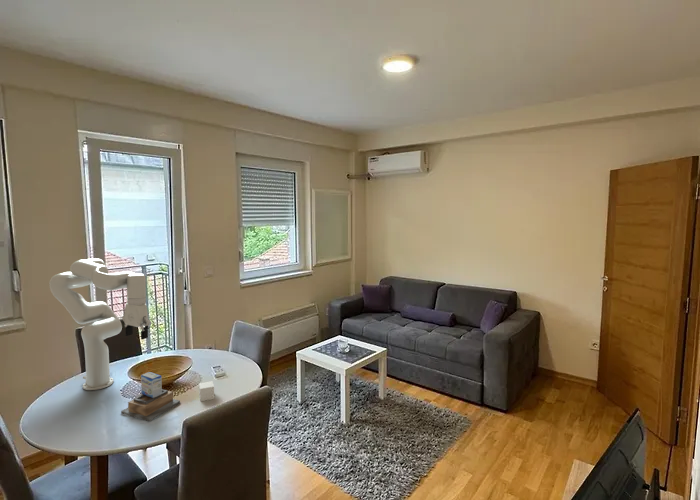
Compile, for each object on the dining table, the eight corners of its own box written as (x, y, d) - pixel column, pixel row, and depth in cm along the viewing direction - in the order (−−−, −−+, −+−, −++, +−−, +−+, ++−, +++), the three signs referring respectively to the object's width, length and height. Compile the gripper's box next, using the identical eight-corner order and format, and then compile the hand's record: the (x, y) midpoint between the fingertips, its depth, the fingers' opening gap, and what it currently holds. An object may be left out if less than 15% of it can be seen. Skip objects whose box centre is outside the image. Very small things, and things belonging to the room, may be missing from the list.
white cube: (200, 401, 170) (199, 388, 169) (199, 395, 175) (199, 383, 175) (214, 398, 172) (213, 386, 172) (212, 393, 178) (212, 381, 177)
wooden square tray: (121, 413, 158) (120, 399, 158) (152, 396, 173) (152, 383, 173) (150, 421, 153) (149, 407, 152) (180, 403, 168) (179, 390, 167)
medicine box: (141, 394, 163) (140, 374, 162) (150, 389, 167) (150, 371, 166) (152, 398, 159) (152, 378, 158) (162, 394, 163) (161, 375, 162)
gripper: (115, 299, 171) (115, 336, 173) (143, 305, 165) (143, 342, 167) (130, 296, 178) (130, 331, 180) (157, 301, 172) (157, 337, 174)
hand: (136, 336), depth 174 cm, fingers open, 9 cm apart
